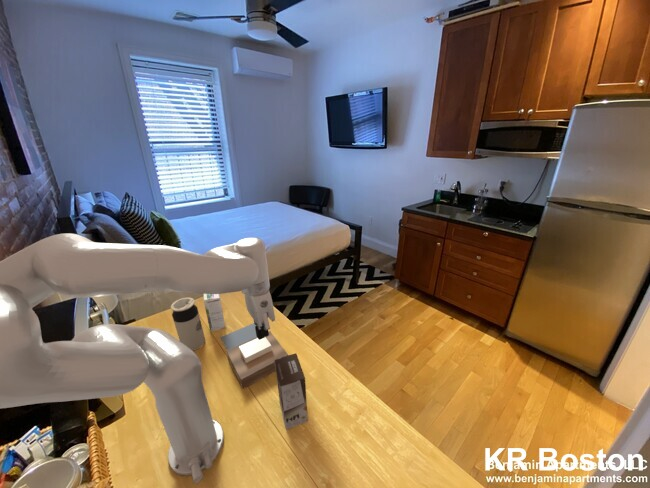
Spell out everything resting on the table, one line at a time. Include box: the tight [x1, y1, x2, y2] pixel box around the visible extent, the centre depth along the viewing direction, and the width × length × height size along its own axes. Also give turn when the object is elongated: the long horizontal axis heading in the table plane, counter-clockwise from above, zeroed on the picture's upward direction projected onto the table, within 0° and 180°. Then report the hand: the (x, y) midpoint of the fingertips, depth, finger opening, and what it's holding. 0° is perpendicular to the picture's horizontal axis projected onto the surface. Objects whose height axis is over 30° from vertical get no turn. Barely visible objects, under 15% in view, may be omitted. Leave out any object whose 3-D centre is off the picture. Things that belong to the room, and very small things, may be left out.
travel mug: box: [170, 297, 206, 352], centre depth 97 cm, size 8×8×18 cm
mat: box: [220, 322, 257, 351], centre depth 102 cm, size 12×15×1 cm
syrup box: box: [203, 294, 226, 332], centre depth 106 cm, size 6×6×14 cm
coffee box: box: [275, 353, 309, 430], centre depth 73 cm, size 9×6×16 cm
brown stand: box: [226, 330, 289, 390], centre depth 91 cm, size 14×16×4 cm
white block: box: [239, 337, 272, 363], centre depth 91 cm, size 6×9×2 cm, turn 126°
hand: (262, 336), depth 80 cm, fingers closed
